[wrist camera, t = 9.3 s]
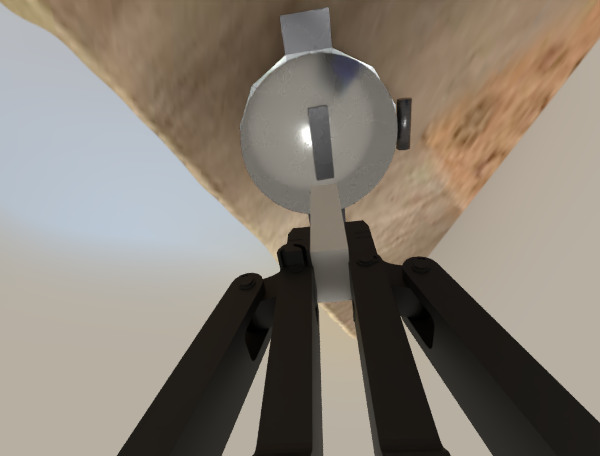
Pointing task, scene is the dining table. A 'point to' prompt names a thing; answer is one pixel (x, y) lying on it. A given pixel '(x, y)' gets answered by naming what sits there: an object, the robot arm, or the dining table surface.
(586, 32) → the dining table surface
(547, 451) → the robot arm
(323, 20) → the pot
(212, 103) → the dining table surface
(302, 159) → the lid
